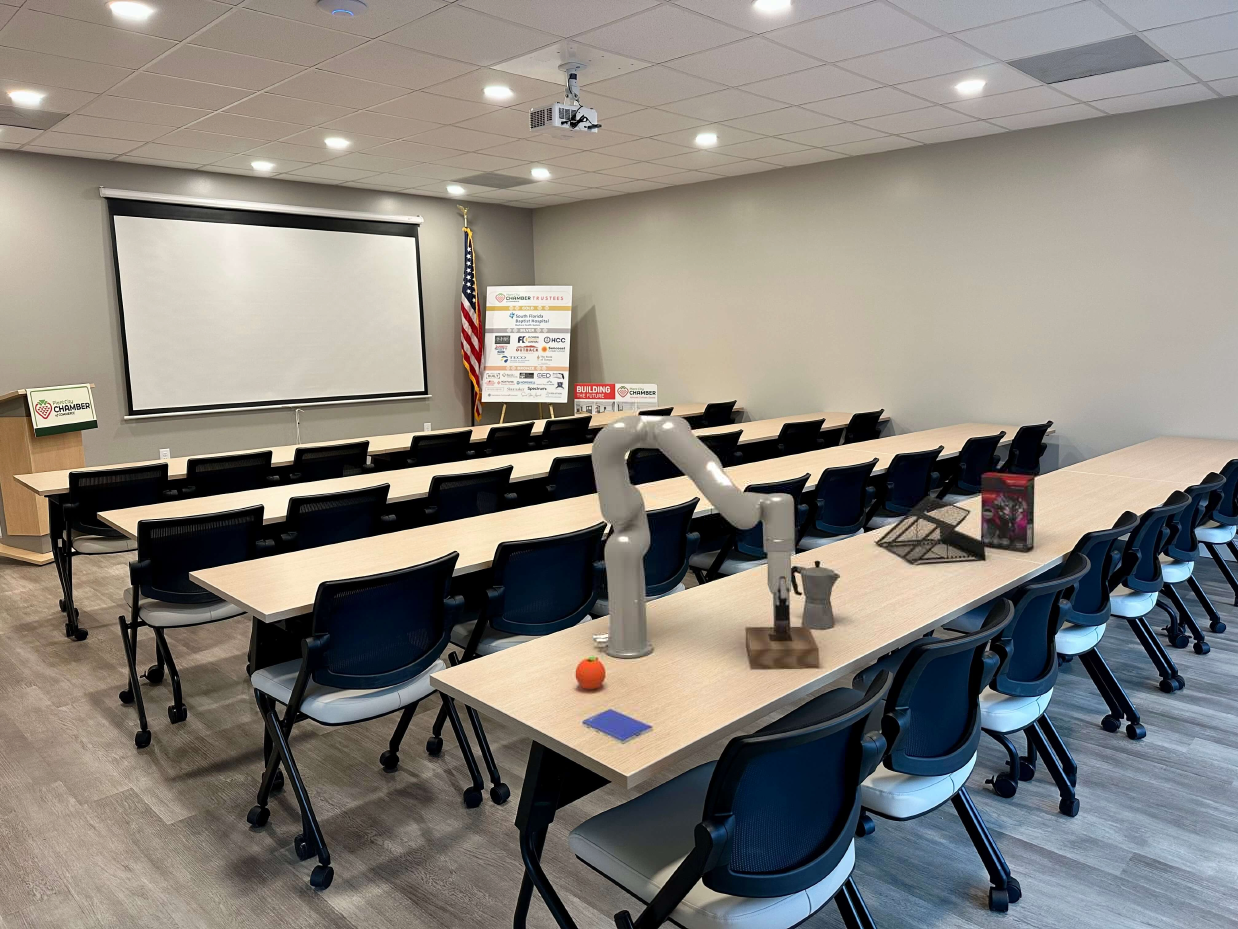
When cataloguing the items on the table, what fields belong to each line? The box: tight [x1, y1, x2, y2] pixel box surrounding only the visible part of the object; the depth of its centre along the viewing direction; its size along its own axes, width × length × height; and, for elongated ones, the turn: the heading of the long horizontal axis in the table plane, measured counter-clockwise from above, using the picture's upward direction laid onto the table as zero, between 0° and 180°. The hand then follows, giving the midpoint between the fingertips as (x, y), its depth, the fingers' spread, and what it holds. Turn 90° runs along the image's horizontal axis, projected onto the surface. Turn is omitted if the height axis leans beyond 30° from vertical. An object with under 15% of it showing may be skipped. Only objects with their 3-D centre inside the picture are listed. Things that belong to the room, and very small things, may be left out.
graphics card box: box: [980, 472, 1036, 553], centre depth 303 cm, size 17×7×27 cm, turn 43°
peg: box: [772, 582, 791, 634], centre depth 204 cm, size 4×4×12 cm
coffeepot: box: [791, 560, 841, 631], centre depth 229 cm, size 15×9×18 cm, turn 49°
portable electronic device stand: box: [873, 495, 986, 566], centre depth 303 cm, size 33×28×18 cm
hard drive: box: [582, 708, 654, 745], centre depth 170 cm, size 2×8×12 cm
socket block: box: [744, 626, 820, 670], centre depth 206 cm, size 16×16×5 cm
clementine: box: [574, 656, 606, 690], centre depth 192 cm, size 8×7×7 cm
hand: (781, 616), depth 205 cm, fingers closed on peg, 4 cm apart
